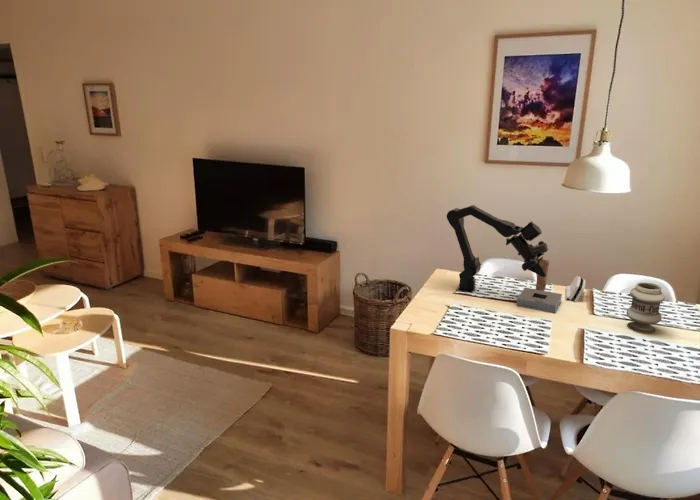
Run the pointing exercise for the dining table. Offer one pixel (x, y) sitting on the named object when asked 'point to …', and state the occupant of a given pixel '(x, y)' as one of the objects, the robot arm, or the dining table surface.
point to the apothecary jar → (645, 307)
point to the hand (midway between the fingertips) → (545, 275)
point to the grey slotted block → (539, 300)
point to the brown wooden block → (541, 280)
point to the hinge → (575, 289)
